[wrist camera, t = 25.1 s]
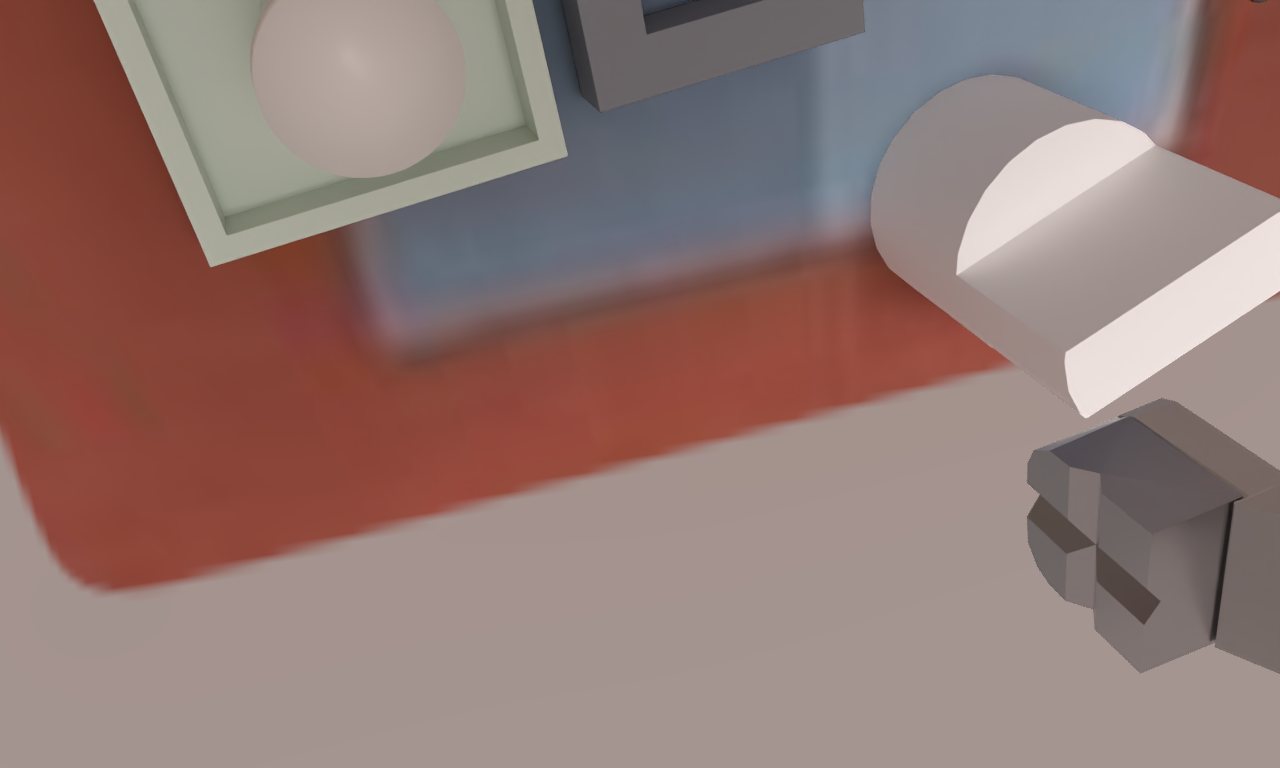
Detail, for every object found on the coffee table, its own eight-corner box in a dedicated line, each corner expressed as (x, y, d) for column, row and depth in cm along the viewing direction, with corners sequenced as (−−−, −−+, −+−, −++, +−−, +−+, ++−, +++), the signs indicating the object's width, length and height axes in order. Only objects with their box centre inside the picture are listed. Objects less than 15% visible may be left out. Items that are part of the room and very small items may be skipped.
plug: (389, -96, 33) (434, -57, 28) (437, 78, 36) (488, 145, 31) (210, -50, 32) (219, -1, 27) (274, 124, 35) (294, 202, 30)
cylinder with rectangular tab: (909, 329, 49) (1097, 483, 39) (838, 156, 43) (1034, 284, 34) (1086, 213, 49) (1317, 338, 39) (1036, 28, 44) (1288, 118, 34)
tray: (458, -247, 33) (475, -245, 31) (549, 135, 39) (567, 156, 37) (40, -148, 31) (32, -140, 29) (208, 240, 37) (210, 267, 35)
